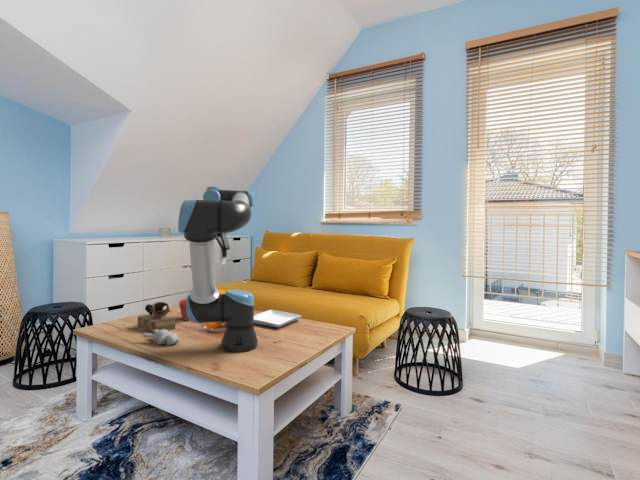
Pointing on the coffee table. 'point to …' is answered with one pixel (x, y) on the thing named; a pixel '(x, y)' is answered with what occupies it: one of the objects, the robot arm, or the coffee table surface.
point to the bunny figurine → (163, 337)
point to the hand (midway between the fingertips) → (214, 263)
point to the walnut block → (156, 322)
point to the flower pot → (183, 309)
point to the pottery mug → (157, 309)
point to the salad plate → (275, 318)
